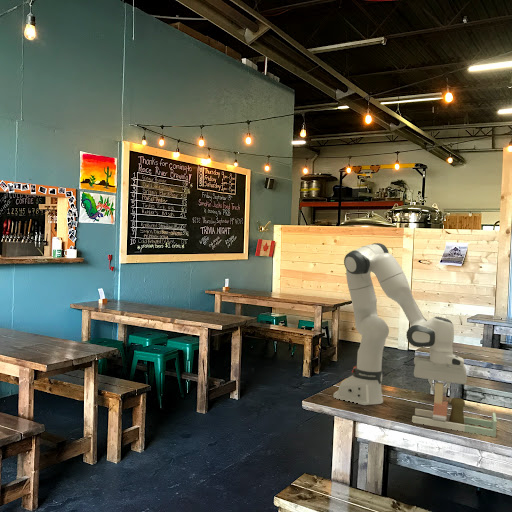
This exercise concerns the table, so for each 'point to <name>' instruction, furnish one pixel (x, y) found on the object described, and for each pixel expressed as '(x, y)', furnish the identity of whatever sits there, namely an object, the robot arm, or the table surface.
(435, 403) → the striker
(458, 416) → the olive rounded upright piece
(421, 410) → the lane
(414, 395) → the table surface
